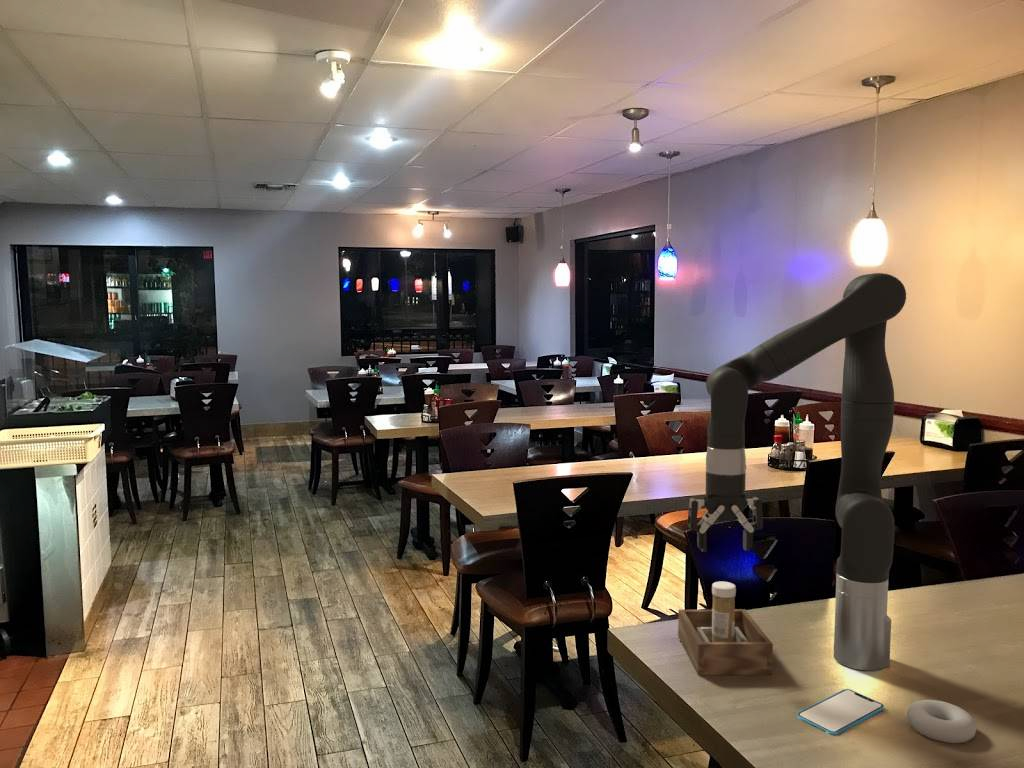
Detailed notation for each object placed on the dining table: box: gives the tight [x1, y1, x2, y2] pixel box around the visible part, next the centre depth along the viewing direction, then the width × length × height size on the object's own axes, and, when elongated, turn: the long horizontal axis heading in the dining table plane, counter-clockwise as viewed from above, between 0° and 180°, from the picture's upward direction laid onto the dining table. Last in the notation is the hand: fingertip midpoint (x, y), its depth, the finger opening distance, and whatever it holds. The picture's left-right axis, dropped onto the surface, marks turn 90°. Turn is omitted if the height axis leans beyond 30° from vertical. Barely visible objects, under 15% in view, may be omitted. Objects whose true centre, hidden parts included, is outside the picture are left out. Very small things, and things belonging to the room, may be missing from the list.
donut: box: [906, 699, 977, 744], centre depth 126 cm, size 10×4×10 cm
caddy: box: [677, 608, 774, 676], centre depth 154 cm, size 14×17×6 cm
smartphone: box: [796, 688, 885, 736], centre depth 131 cm, size 8×1×15 cm
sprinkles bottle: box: [711, 581, 737, 642], centre depth 153 cm, size 5×5×13 cm
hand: (724, 550), depth 152 cm, fingers open, 8 cm apart
